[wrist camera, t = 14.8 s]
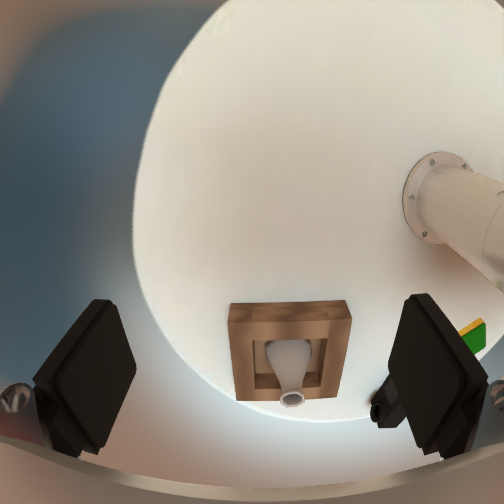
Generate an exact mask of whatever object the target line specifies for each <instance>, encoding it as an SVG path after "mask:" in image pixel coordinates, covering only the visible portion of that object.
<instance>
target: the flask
mask: <svg viewBox="0 0 504 504" xmlns="http://www.w3.org/2000/svg"><path fill="white" fill-rule="evenodd" d="M264 347H265V352H266V357H267V360H268V362H269V364H270V365H271V367H272V369H273V370H274V372H275V374H276V376H277V378H278V380H279V382H280V385H281V389H282V394H281V395H280V402H281V404H282V405H284V406H286V407H296V406H299V405H301V404H302V403H304V402H305V399H304V394H303V393H302V391H301V390H302V382H303V379H304V376H305V373H306V370H307V368H308V365H309V363H310V360H311V357H312V348H311V342H310V341H309V340H308V339H298V340H270V341H269V342H267V343H266V344H265V345H264Z"/></svg>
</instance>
